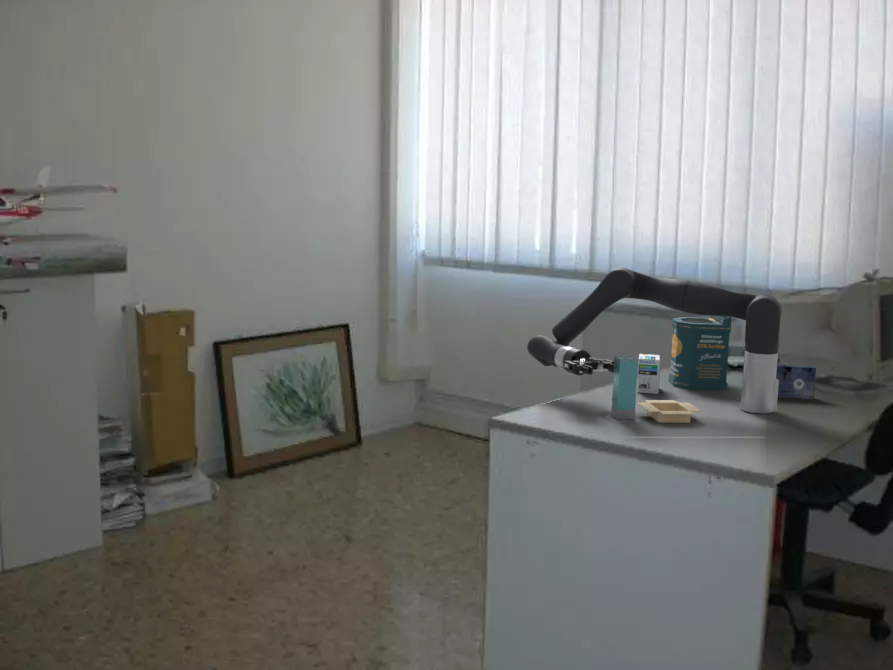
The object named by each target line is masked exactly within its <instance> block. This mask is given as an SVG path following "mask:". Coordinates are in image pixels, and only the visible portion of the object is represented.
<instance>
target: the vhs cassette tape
mask: <svg viewBox="0 0 893 670" xmlns="http://www.w3.org/2000/svg"><path fill="white" fill-rule="evenodd" d="M816 373H817V367H816V366H807V365H806V366H805V365H789V364H788V365H785V364H777V373H776V379H778V380H779V385H778V397H779V398H782V399H796V398H801V400H814V397H815V388H816V387H815V385H816V375H817V374H816Z"/></svg>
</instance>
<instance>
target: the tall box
mask: <svg viewBox="0 0 893 670" xmlns="http://www.w3.org/2000/svg"><path fill="white" fill-rule="evenodd" d="M613 358H614V359H613V361H614V373H613V375H612V376H613V380H612V381H613V382H612V396H611V397H612V401H611V413H610V415H611V417H613V418H614V419H615V420H616V421H635V417H636V405H637V404H636V403H637V387H638V362H639V358H637V357H635V356H634V355H614V357H613Z"/></svg>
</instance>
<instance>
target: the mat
mask: <svg viewBox="0 0 893 670" xmlns="http://www.w3.org/2000/svg"><path fill="white" fill-rule="evenodd" d="M604 416H605V417H607V419H609V420H610V421H611V422H612V423H642V421H641V420H640V419H638V418H637V417H636V416H635V421H616V420H615V419H614V418H613V417H611V414H605V415H604Z"/></svg>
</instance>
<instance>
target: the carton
mask: <svg viewBox="0 0 893 670" xmlns="http://www.w3.org/2000/svg"><path fill="white" fill-rule="evenodd" d="M636 403H637V405H638V406H640V407H641V408H642V409H644V410H645V411H646V414H647V415H649V416H650V417H651V418H652V419H653V420H655V421H656V422H657V423H668V424H669V423H672V424H673V423H677V424H679V423H682V424H683V423H691V416H692V415H695V413H702V410H700V409H699V408H697V407H696V406H695V405H693V404H692V403H690V402H678V401H676V400H675V399H674V400H673V399H672V400H671V399H670V400H669V399H667V400H665V399H660V400H659V399H644V402H643V401H642V402H637V401H636Z"/></svg>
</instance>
